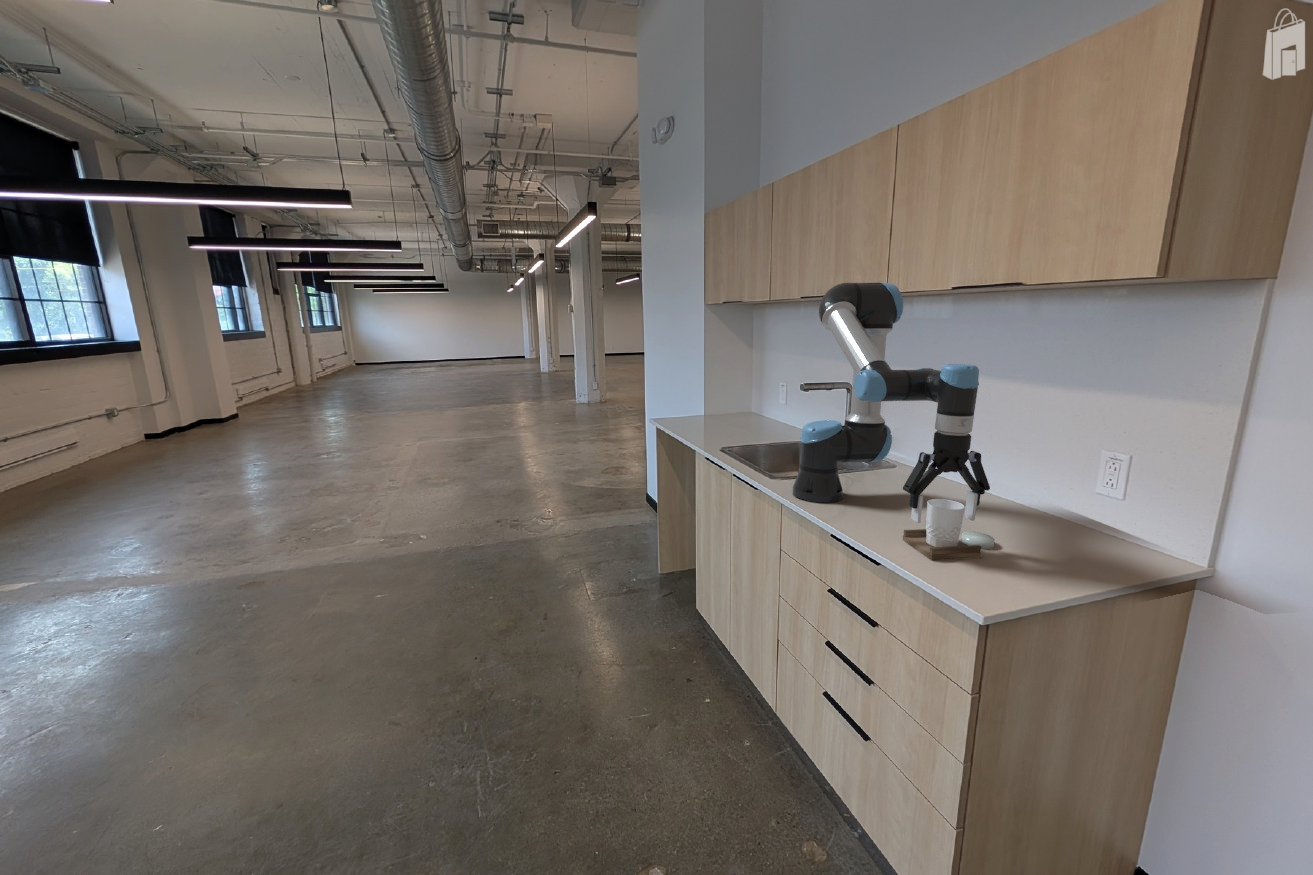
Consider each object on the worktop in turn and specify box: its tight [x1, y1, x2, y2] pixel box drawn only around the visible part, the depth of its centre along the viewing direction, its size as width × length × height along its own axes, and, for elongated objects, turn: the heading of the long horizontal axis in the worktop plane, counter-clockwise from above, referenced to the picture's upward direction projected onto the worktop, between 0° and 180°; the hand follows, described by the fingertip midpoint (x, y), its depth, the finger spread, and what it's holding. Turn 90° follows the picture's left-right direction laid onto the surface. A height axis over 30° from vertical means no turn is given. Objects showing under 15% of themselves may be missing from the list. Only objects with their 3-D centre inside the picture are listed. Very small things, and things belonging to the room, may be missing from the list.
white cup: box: [925, 498, 966, 547], centre depth 128 cm, size 8×8×10 cm
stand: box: [902, 528, 982, 561], centre depth 129 cm, size 12×12×3 cm
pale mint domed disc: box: [960, 531, 995, 550], centre depth 132 cm, size 7×7×2 cm
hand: (942, 519), depth 128 cm, fingers open, 13 cm apart
